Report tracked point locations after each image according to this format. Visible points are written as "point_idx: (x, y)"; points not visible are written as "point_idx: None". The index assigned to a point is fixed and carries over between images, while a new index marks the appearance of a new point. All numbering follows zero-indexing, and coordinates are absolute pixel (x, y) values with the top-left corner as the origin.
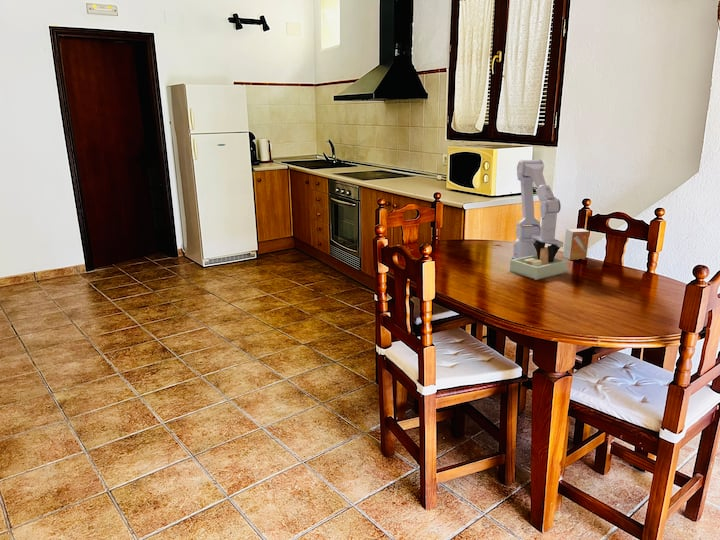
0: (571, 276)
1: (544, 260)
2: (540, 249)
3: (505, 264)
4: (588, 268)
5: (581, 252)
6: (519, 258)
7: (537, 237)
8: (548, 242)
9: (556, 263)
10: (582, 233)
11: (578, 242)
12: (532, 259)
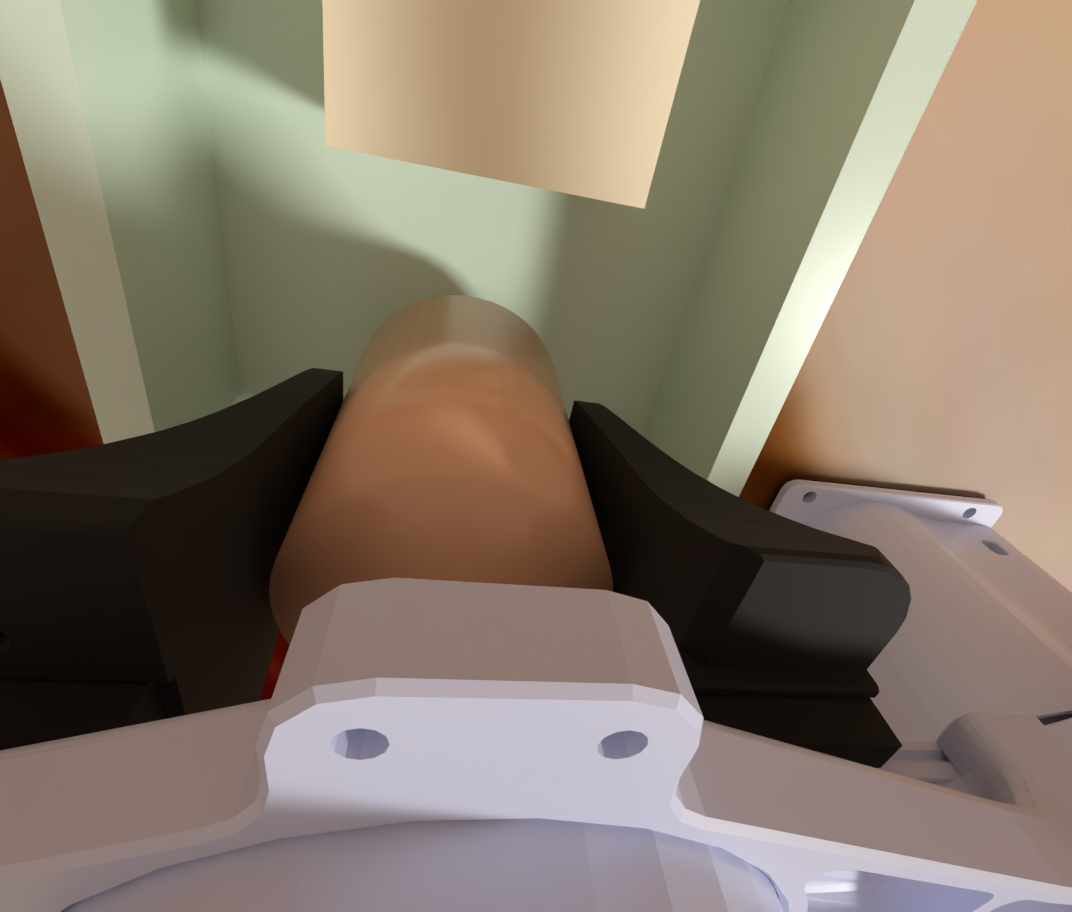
0: (41, 382)
1: (404, 342)
2: (583, 507)
3: (1039, 208)
4: None
5: None
6: (930, 39)
7: (936, 903)
8: (30, 756)
9: (69, 319)
10: None
11: None
12: (578, 77)
